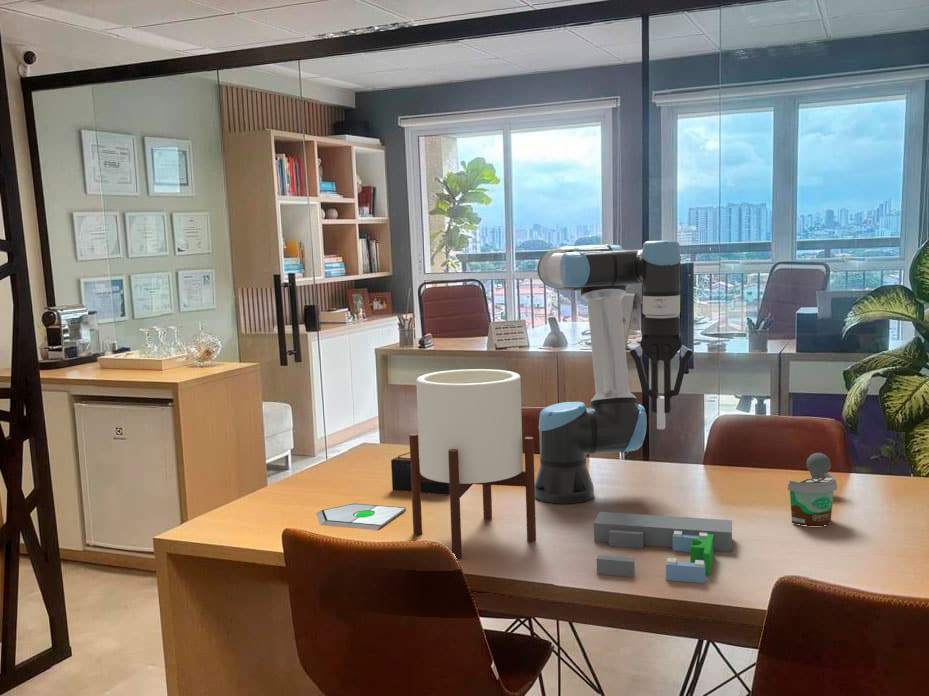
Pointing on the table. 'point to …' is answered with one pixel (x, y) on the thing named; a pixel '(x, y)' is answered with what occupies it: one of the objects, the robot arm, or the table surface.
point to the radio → (403, 478)
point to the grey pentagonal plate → (359, 516)
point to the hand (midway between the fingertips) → (661, 427)
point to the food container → (812, 500)
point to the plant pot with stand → (470, 441)
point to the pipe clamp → (703, 552)
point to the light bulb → (818, 465)
